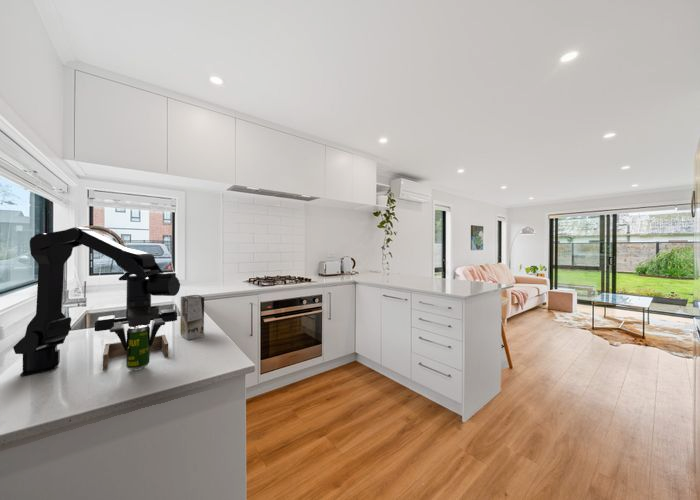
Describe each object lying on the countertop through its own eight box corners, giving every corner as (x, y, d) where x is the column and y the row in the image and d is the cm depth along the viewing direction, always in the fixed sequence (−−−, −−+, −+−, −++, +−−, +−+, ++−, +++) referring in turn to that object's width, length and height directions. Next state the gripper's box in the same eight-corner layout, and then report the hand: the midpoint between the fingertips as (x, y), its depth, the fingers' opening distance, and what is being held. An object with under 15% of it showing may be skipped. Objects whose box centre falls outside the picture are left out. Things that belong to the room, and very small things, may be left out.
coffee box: (204, 336, 109) (205, 297, 109) (186, 340, 105) (187, 299, 105) (196, 331, 116) (197, 294, 116) (179, 334, 111) (180, 296, 111)
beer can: (135, 362, 82) (136, 323, 82) (153, 362, 82) (154, 323, 82) (121, 370, 77) (121, 328, 77) (140, 370, 77) (141, 328, 77)
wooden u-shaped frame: (102, 369, 79) (103, 355, 79) (105, 357, 87) (105, 344, 87) (168, 356, 89) (168, 343, 89) (164, 346, 98) (164, 334, 98)
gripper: (92, 303, 67) (92, 365, 67) (180, 296, 79) (179, 349, 79) (96, 297, 76) (96, 352, 76) (175, 291, 88) (174, 338, 88)
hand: (138, 347), depth 80 cm, fingers closed on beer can, 5 cm apart
